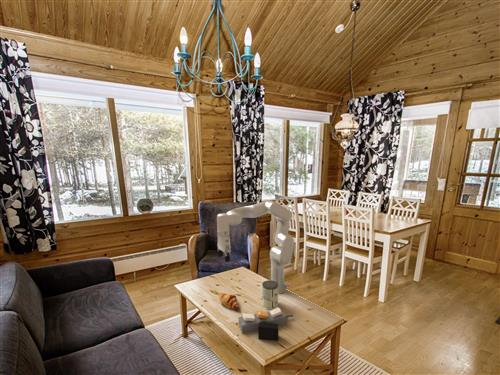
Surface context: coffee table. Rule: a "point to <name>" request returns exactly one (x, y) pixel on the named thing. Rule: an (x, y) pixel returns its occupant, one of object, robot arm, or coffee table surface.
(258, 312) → the amber rocker
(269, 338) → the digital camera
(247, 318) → the block
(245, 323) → the power strip
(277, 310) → the white rocker
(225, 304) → the croissant
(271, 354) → the coffee table surface
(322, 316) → the coffee table surface
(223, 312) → the coffee table surface
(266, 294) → the coffee can
